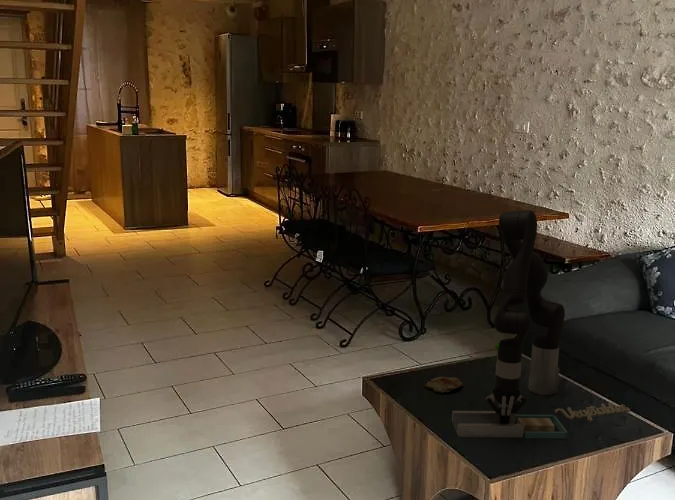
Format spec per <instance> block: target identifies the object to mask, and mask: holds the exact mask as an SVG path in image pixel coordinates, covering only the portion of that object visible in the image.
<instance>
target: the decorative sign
mask: <svg viewBox="0 0 675 500" xmlns="http://www.w3.org/2000/svg"><path fill="white" fill-rule="evenodd" d="M607 404H608V405H607V406H606V404H605V403H601V406H600V407H597V406H596V405H594V406H593V405H590V406H588V407H587V406H586V407H585V409H582V410H581V409H579V410H578V411H577V410H572V408H571V406H568V407H567V408H566V411H565V410H564V409H563V408H556V409H554V414H557V413H559V412H561V413H562V416H564V417H565V418H566V419H567V420H575V418H576V419H579V420H581V419H582V418H584V419H586V421H587V422H590V423H593V418H594V417H601V416H605V415H606V416H607V415H614V414H615V413H616V414H621V413H622V414H624V413H630V411H631V408H629V407H626V405H625V404H620V405H614V404H613V403H612V402H608V403H607ZM567 412H568V413H567Z"/></svg>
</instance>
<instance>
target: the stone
mask: <svg viewBox="0 0 675 500" xmlns="http://www.w3.org/2000/svg"><path fill="white" fill-rule="evenodd" d="M463 384H464V383H463V382H462V381H461V380H460V379H459V378H458V377H452V376H451V377H450V376H449V377H448V376H437V377H434V378H430V379H428V380H427V382H426V384H424V385H423V387H424V388H426V389H429V390H432V391H433V393H440V394H444V393H449V392H451V391H453V390H455V389H459V388H460V387H461V386H463Z"/></svg>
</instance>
